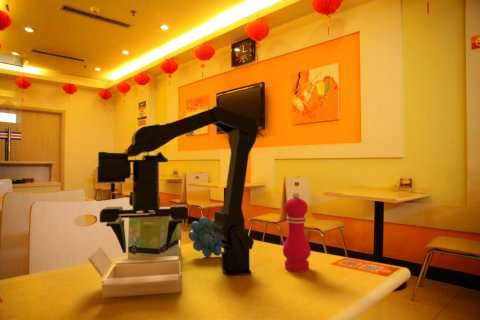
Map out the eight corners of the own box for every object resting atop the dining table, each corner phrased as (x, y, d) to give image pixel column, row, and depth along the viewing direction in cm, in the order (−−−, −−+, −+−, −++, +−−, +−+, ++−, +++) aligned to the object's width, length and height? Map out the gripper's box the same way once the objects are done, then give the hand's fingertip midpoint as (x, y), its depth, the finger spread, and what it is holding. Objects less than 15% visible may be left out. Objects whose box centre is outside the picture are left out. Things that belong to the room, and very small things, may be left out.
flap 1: (100, 246, 75) (98, 247, 75) (89, 257, 66) (87, 258, 66) (112, 262, 76) (111, 263, 75) (103, 276, 66) (101, 277, 66)
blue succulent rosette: (187, 261, 91) (187, 219, 92) (189, 255, 98) (189, 215, 98) (227, 260, 92) (227, 218, 92) (227, 254, 99) (227, 215, 99)
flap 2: (180, 259, 79) (181, 258, 79) (180, 271, 69) (182, 271, 69) (178, 239, 79) (180, 239, 79) (178, 249, 69) (180, 248, 69)
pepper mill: (279, 270, 82) (279, 192, 83) (286, 263, 89) (285, 191, 90) (308, 273, 80) (307, 193, 80) (312, 265, 86) (311, 191, 87)
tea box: (160, 267, 86) (160, 212, 86) (126, 265, 88) (126, 211, 88) (182, 253, 100) (182, 206, 101) (152, 251, 102) (152, 205, 103)
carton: (181, 270, 83) (181, 255, 83) (182, 298, 65) (182, 279, 65) (115, 275, 80) (115, 259, 80) (97, 305, 62) (97, 285, 62)
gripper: (186, 180, 83) (186, 241, 82) (109, 181, 79) (109, 245, 79) (187, 182, 72) (188, 252, 71) (99, 183, 68) (98, 257, 68)
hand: (146, 251), depth 72 cm, fingers open, 9 cm apart
